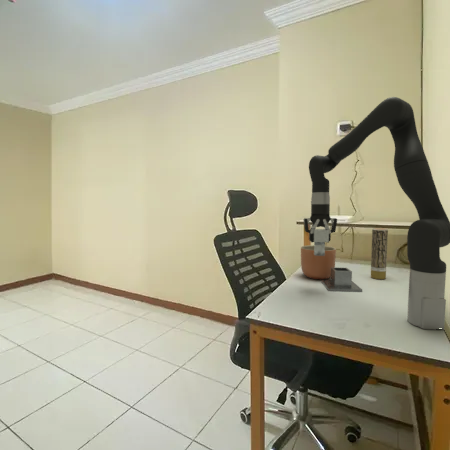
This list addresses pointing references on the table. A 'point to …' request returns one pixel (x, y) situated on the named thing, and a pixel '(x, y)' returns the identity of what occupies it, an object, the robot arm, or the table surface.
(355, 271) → the table surface
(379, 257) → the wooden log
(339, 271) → the duct socket
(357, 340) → the table surface
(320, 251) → the silver block with cylinder
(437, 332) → the table surface
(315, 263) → the planter
